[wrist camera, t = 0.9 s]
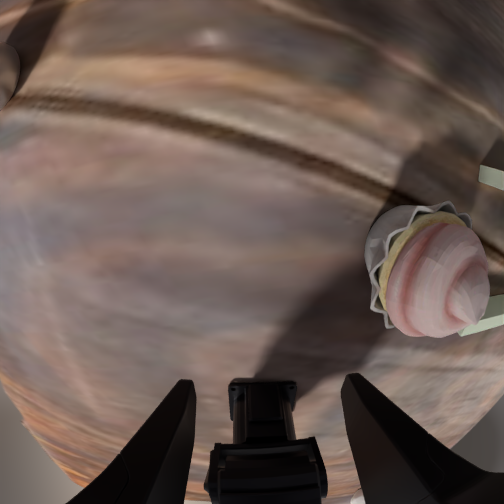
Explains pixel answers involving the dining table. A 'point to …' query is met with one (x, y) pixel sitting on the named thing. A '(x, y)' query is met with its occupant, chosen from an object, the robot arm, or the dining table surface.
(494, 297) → the pocket
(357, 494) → the teapot
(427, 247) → the cupcake
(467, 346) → the dining table surface
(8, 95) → the plastic bottle
